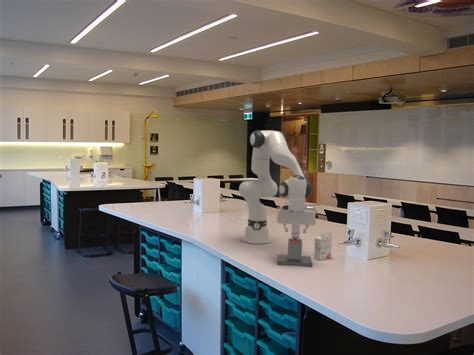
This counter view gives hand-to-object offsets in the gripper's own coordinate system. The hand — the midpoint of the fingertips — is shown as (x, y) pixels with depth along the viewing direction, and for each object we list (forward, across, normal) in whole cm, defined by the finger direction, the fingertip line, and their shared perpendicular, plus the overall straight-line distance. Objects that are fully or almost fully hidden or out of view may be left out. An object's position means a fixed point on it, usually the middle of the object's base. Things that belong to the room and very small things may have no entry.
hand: (295, 232), depth 224 cm
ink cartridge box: (+16, -16, -12) cm, 26 cm away
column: (+14, 0, 0) cm, 14 cm away
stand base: (+16, 0, 0) cm, 16 cm away
